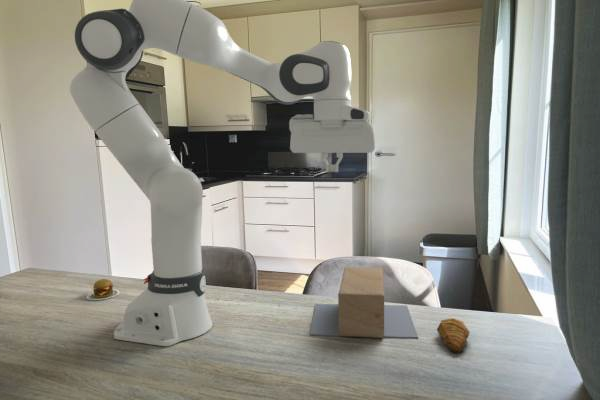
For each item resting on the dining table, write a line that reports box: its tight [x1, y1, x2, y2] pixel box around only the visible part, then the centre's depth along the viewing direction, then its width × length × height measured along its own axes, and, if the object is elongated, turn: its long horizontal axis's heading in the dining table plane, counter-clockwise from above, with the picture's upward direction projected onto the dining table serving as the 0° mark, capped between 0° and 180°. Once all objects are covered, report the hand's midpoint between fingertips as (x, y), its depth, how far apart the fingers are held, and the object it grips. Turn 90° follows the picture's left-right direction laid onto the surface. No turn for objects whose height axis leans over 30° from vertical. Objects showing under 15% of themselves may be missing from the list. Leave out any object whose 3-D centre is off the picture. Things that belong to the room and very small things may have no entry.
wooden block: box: [337, 266, 385, 339], centre depth 101 cm, size 10×10×20 cm
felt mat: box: [309, 303, 419, 339], centre depth 102 cm, size 24×18×1 cm
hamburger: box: [86, 278, 120, 301], centre depth 124 cm, size 12×12×6 cm
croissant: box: [436, 318, 470, 354], centre depth 90 cm, size 14×7×5 cm, turn 165°
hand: (332, 172), depth 101 cm, fingers closed
